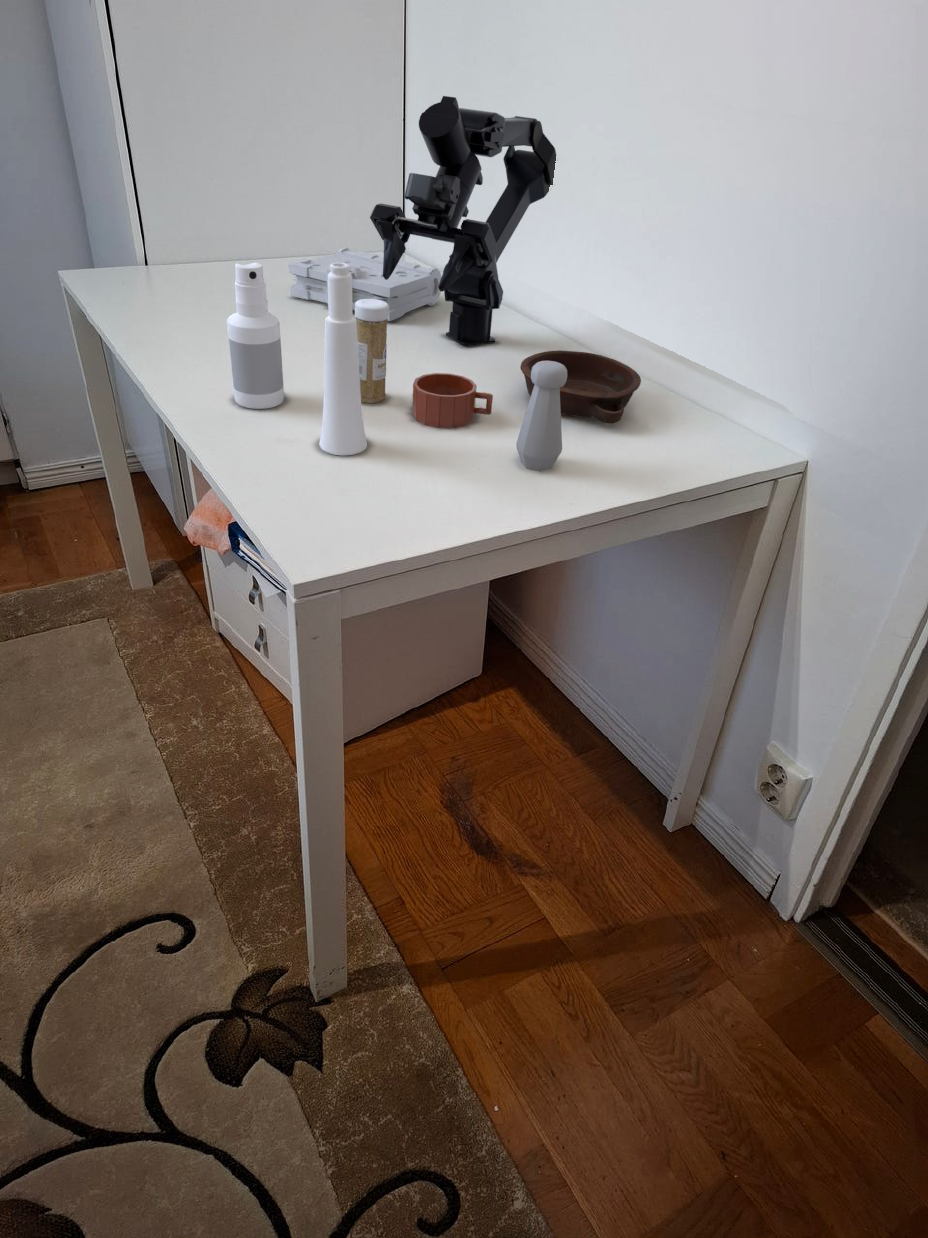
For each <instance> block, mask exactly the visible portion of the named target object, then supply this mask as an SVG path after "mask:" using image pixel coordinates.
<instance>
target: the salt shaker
mask: <svg viewBox="0 0 928 1238" xmlns="http://www.w3.org/2000/svg"><path fill="white" fill-rule="evenodd" d="M531 380H532V382H533V383H534V384H535V385H534V388H533V391H532V394H531V397H530V396H529V397H530V398H529V401H528V403H527V404H528V405H527V407H526V410H525V413H524V417H523V420H522V423H521V426H520V430H519V433H518V436H517V439H516V443H515V445H516V450H517V454H518V457H519V460H520V463H521V464H522V465H523V466H524V468H525V469H528V470H533V471H538V472H542V471H547V470H552V468H553V466H554V465H555V463H556V461H557V460H558V459H559V457H560V455H561V454H562V451H563V436H562V435H563V434H562V413H561V410H560V387H563V386H564V384H565V383H566V380H567V369H566V368H565V366H564V365H562V364H561V363H558V362H555V361H540V362H537V363H536V364H535V365H534V366H533V367H532V371H531Z"/></svg>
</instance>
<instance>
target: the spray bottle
mask: <svg viewBox="0 0 928 1238" xmlns="http://www.w3.org/2000/svg"><path fill="white" fill-rule="evenodd" d="M263 267H264V266H263V264H261V263H260V262H256V261H254V262H252V263H247V264H242V263H238V262H236V263H235V264H234V271H235V282H234V290H235V291H234V292H235V308H236V312H234V313H232V314H230V315H229V317H228V318H227V319H226V327H227V329H226V330H227V339H228V349H229V360H230V369H231V370H230V371H231V379H232V389H233V390H232V391H233V398H234V402H235V403H236V404H238V405H239V406H240V407H243V408H246V409H247V408H248V409H252V410H253V409H255V410H264V409H265V410H266V409H271V408H274V407H277V406H280V405H281V404H283V402H284V400H285V389H284V373H283V355H282V339H281V323H280V320H279V318H278V317H277V316H276V315H274V314H273V313H271V312H269V303H268V299H267V284H266V282H265V278H264V268H263Z"/></svg>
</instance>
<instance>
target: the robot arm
mask: <svg viewBox="0 0 928 1238" xmlns="http://www.w3.org/2000/svg"><path fill="white" fill-rule="evenodd" d="M418 128H419V131H420V134H421V136H422V138H423V141H424V143H425V146H426V148H427V151H428V152H429V154H430V157H431V160H432V161H433V163H434V164H436V165H437V166H439V168H438V170H437V172H436V175H435V176H433V175H426V174H421V173H415V172H409V174H408V179H407V182H406V186H405V187H406V188H405V191H404V196H403V197H404V198H405V200H409V201H410V202H411V203H412V204H413V206H412V208H411V209H412V211H413V214H414V215H417V216H418V217H417V219H414V218H408V217H406V215H405V213H404V211H403V209H402V207H401V206H398V205H392V204H387V203H376V205H375V206H374V207H373V209H372V211H371V214H370V216H369V219H370V221H371V223H372V224H373V226H374V228H375V229H376V231H377V233H378V235H379V237H380V239H381V240H382V241H383V258H384V259H383V277H384V279H385V280H388V278H389V277H390V276H391V274H392V273H393V271H394V269H395V267H396V266H397V264H398V262H400V261H401V258H402V257H403V255H404V253H405V251H406V250H407V248H406V246H405V244H406V243H408V241H409V239H410V237H411V235H412V236H418V237H423V238H426V239H427V238H428V239H431V240H436V241H441V242H445V243H451V244H453V249H452V253H451V254H450V255H449V259H448V261H447V263H446V264H445V266H444V268H443V271H442V274H441V280H440V283H439V286H438V288H439V290H440V291H441V293H443V294H444V301H445V302H452V310H451V311H450V312H449V327H448V328H449V329H448V331H447V332H445V336H446V337H447V338H449V339H451V340H453V341H454V342H455V343H458V344H459V345H461V346H462V347H473V346H478V345H479V346H480V345H486V344H493V343H496V338H494V337H492V336H491V331H492V321H493V310H498V309H500V308H501V304H502V301H503V296H504V290H503V287H502V284H501V282H500V280H499V272H498V265H497V264H498V261H499V260H500V257H501V255H502V253H503V252H504V250H505V249H506V247H507V245H508V243H509V242H510V240H511V238H512V236H513V234H514V233H515V232H516V230H517V227H518V226H519V224H520V222H521V220H522V219H523V217H524V216H525V213H526V212H527V210H528V209H529V207H530V205H532V204H534V203H537V202H538V201H540V200H542V199H544V198H545V197H546V196H547V195H548V193H549V192H550V191H549V187H550V185H553V178H554V170H555V163H556V162H555V161H556V156H557V151H556V148H555V146H554V145H553V143H552V142H551V141H550V140H549V138H548V137H547V136H546V135H545V133H544V130H543V125H542V121H540V120H538V119H537V118H533V117H528V116H527V117H526V116H518V115H515V116H514V117H513V116H512V117H505V116H503V115H501V114H500V113H498V112H493V111H487V110H486V111H485V110H478V109H472V108H471V109H470V108H464V107H460V106H459V102H458V99H457V97H455V96H448V95H443V96H442V98H441V100H440V102H436V103H433V104H431V105H430V106H429V107H428V108H426V109H425V111H423V112H422V113H421V114H420V116H419V119H418ZM520 146H521V147H522V146H525V147H531V150H532V151H531V150H525V149H516V147H520ZM505 147H507V149H506V152H505V153H504V156H503V163H504V168H505V173H506V175H505V176H506V182H507V184H506V187H505V188H504V190H503V192H502V194H501V195H500V196H499V198H498V199H497V201H496V203H495V205H494V207H493V209H492V210H491V212H490V213H489V215H488V216H487V219H486V220H485V221H480V220H474V219H469V218H467V217H468V214H469V212H470V211H469V207H468V204H469V201H470V198H471V196H472V193H473V191H474V189H475V186H482V185H483V183H484V177H483V173H482V165H481V163H480V159H479V158H478V156H479V157H485V158H494V157H495V156H497V155H499V154H501V153H502V152H503V148H505ZM553 186H554V185H553ZM462 218H466V219H463V220H462ZM461 220H462V222H461ZM460 223H461V224H460ZM459 225H460V228H458V227H459Z"/></svg>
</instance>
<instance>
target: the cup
mask: <svg viewBox="0 0 928 1238" xmlns="http://www.w3.org/2000/svg"><path fill="white" fill-rule="evenodd" d="M493 398H494V395H493V394H492V393H489V392H480V391H477V384H476V383H475V381H473V379H470V378H468V377H466V376H463V375H459V374H455V373H449V372H447V373H444V372H442V373H441V372H434V373H433V372H432V373H427V374H422V375H420V376H418V377H415V378H414V381H413V383H412V408H411V415H412V417H413V418H414V420H415V421H417V422H418V423H421V424H423V425H425V426H429V427H434V428H437V429H456V428H461V427H465V426H467V425H469V424H471V423H473V422H474V418H475V414H479V415H486V416H487V415H491V414H492V409H493ZM477 399H480V400H481V399H482V400H486V403H485V407H478V406H477V407H476V400H477Z"/></svg>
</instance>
